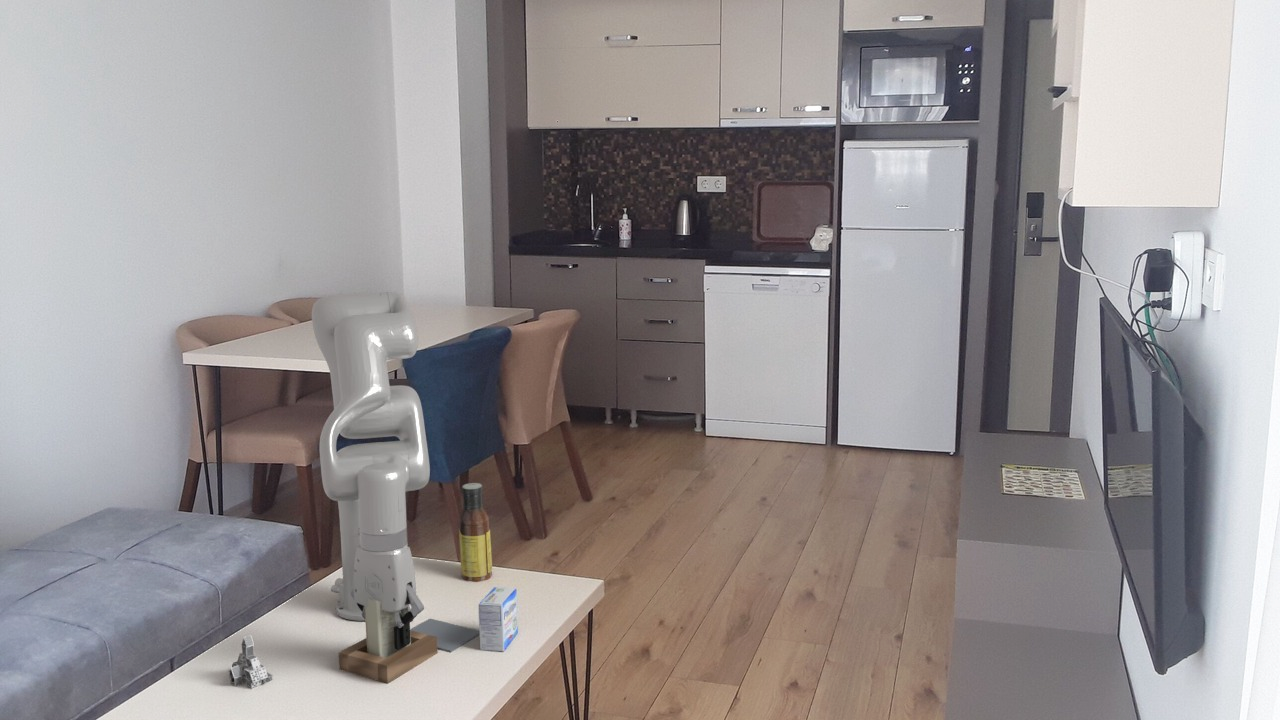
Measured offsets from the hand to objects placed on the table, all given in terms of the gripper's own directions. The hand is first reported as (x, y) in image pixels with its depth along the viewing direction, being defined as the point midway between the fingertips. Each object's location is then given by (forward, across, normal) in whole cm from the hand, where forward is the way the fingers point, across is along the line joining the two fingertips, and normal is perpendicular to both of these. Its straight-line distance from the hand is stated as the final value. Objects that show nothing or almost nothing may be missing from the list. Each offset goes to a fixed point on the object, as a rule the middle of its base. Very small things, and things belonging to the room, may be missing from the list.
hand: (388, 641), depth 176 cm
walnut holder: (+3, 0, 0) cm, 3 cm away
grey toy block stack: (+4, -17, -17) cm, 25 cm away
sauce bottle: (+4, -10, +37) cm, 39 cm away
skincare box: (+4, 0, 0) cm, 4 cm away
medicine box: (+4, +12, +15) cm, 19 cm away
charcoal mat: (+3, +1, +12) cm, 13 cm away
